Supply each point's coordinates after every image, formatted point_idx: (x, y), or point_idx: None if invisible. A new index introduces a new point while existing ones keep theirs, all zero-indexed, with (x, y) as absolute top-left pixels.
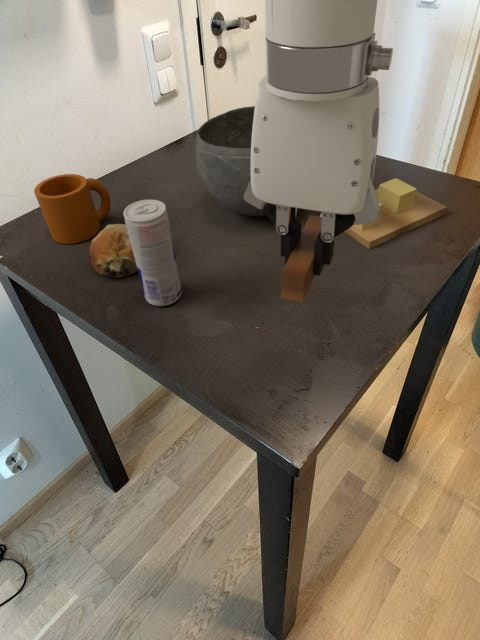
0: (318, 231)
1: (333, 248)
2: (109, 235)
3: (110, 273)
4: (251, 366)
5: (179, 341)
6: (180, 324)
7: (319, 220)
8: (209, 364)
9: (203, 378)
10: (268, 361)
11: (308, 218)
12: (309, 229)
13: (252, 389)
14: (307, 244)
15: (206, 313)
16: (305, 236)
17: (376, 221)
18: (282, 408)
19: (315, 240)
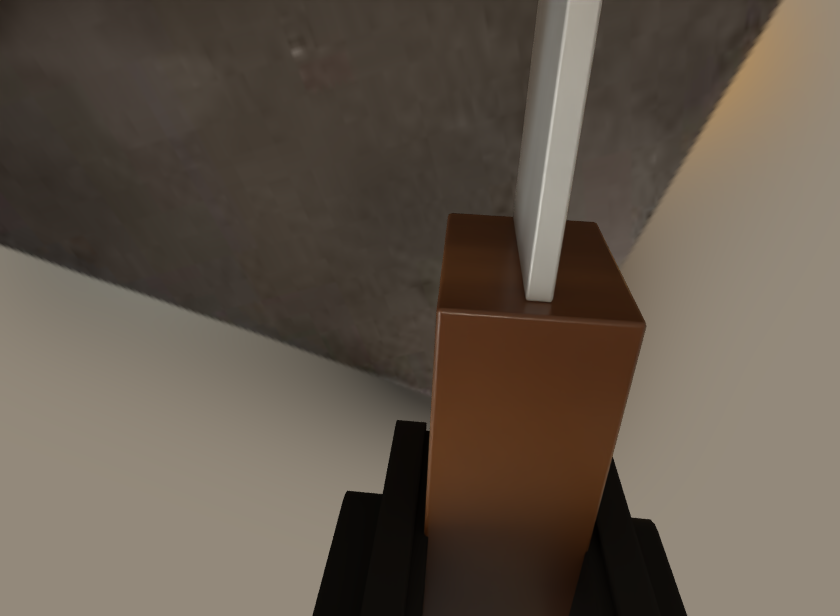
0: (553, 503)
1: (668, 571)
2: None
3: None
4: (342, 220)
5: (104, 183)
6: (58, 112)
7: (541, 369)
8: (231, 242)
9: (241, 288)
10: (382, 190)
11: (435, 356)
12: (477, 486)
13: (372, 290)
14: (496, 610)
15: (101, 32)
16: (465, 554)
17: None
18: None
19: (544, 582)
